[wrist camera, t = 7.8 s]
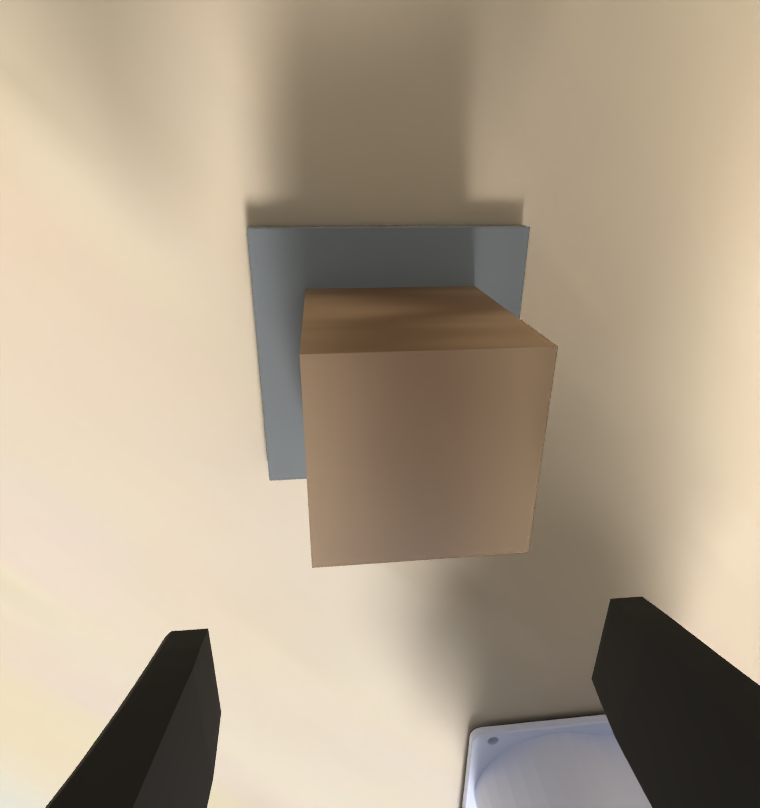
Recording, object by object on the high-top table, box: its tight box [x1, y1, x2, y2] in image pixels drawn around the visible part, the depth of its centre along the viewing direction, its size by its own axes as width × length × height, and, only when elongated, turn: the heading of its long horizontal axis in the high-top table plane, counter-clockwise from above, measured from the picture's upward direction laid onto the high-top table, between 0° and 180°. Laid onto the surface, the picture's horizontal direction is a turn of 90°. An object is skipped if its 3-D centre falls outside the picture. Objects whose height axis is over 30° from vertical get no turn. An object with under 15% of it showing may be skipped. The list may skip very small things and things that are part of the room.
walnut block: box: [300, 286, 558, 568], centre depth 14 cm, size 5×5×6 cm
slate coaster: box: [247, 225, 530, 480], centre depth 17 cm, size 8×8×1 cm
